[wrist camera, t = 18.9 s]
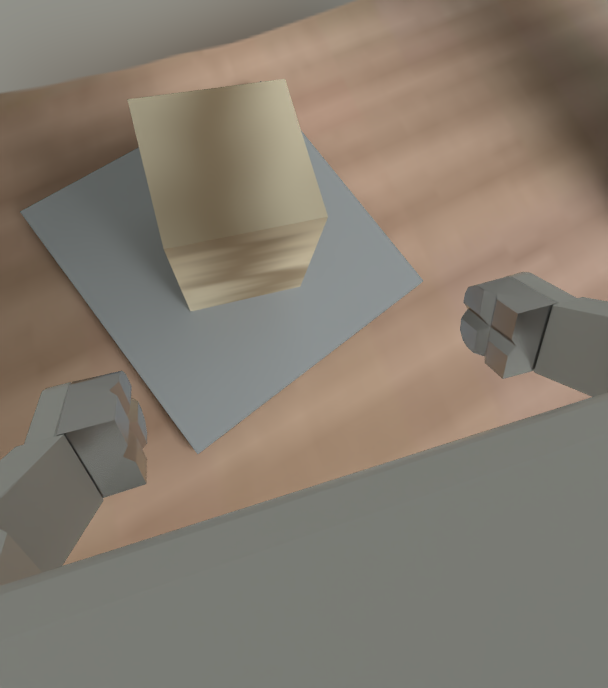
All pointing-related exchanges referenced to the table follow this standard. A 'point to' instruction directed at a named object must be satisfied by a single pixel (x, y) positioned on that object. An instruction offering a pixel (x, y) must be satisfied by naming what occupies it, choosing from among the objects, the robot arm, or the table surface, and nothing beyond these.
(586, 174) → the table surface
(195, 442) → the post base
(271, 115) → the beige block
